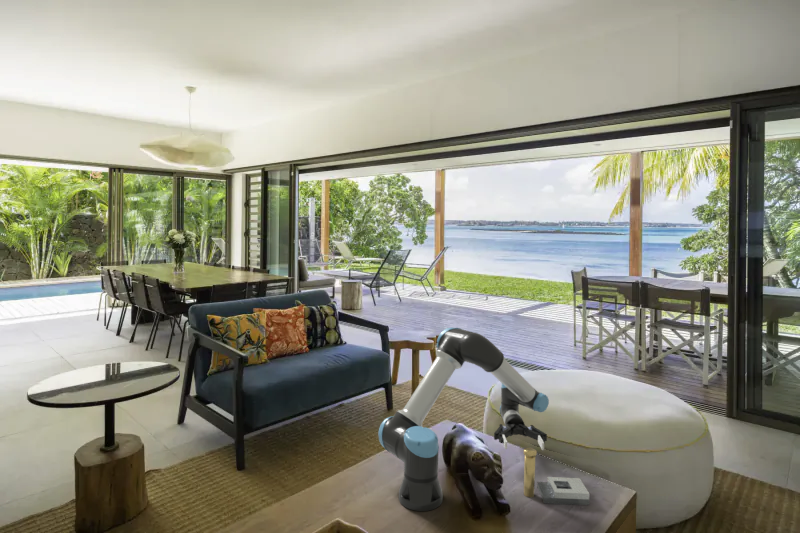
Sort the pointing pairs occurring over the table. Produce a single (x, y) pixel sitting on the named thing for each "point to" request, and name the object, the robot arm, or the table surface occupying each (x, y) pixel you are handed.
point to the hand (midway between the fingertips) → (524, 446)
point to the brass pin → (529, 471)
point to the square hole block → (563, 491)
